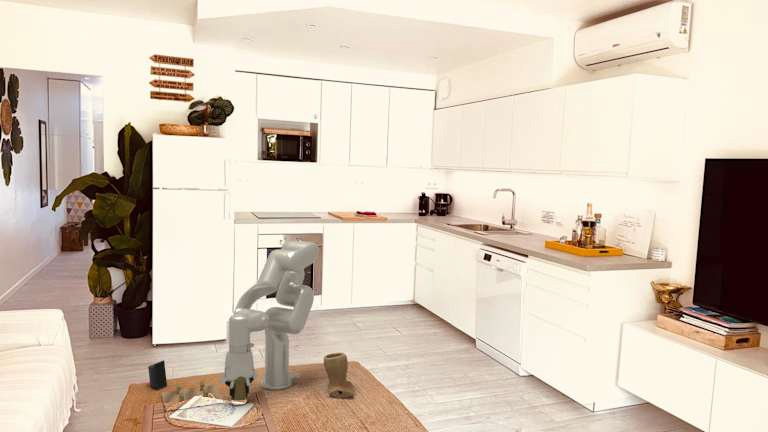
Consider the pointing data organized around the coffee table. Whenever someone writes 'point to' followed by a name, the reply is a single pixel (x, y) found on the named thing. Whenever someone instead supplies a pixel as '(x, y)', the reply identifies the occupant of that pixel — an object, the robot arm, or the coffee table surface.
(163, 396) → the pin holder
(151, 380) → the speaker
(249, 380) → the robot arm
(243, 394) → the cork
